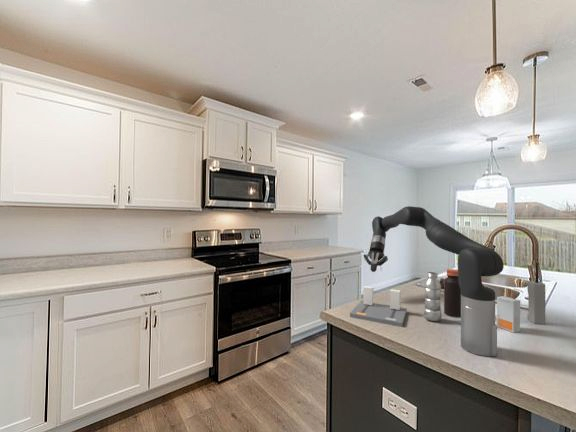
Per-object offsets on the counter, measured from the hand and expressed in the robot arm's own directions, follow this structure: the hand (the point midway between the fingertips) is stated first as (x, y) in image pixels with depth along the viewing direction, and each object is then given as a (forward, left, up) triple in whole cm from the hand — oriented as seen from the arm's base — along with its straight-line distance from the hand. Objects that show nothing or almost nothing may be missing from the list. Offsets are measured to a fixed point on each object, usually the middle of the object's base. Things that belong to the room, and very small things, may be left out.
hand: (373, 270), depth 135 cm
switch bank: (-6, +17, -16) cm, 24 cm away
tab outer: (0, +11, -14) cm, 18 cm away
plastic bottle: (-27, +13, -16) cm, 34 cm away
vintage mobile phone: (-65, -7, -16) cm, 67 cm away
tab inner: (-12, +11, -14) cm, 21 cm away
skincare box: (-53, +8, -16) cm, 56 cm away
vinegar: (-35, +1, -16) cm, 39 cm away
